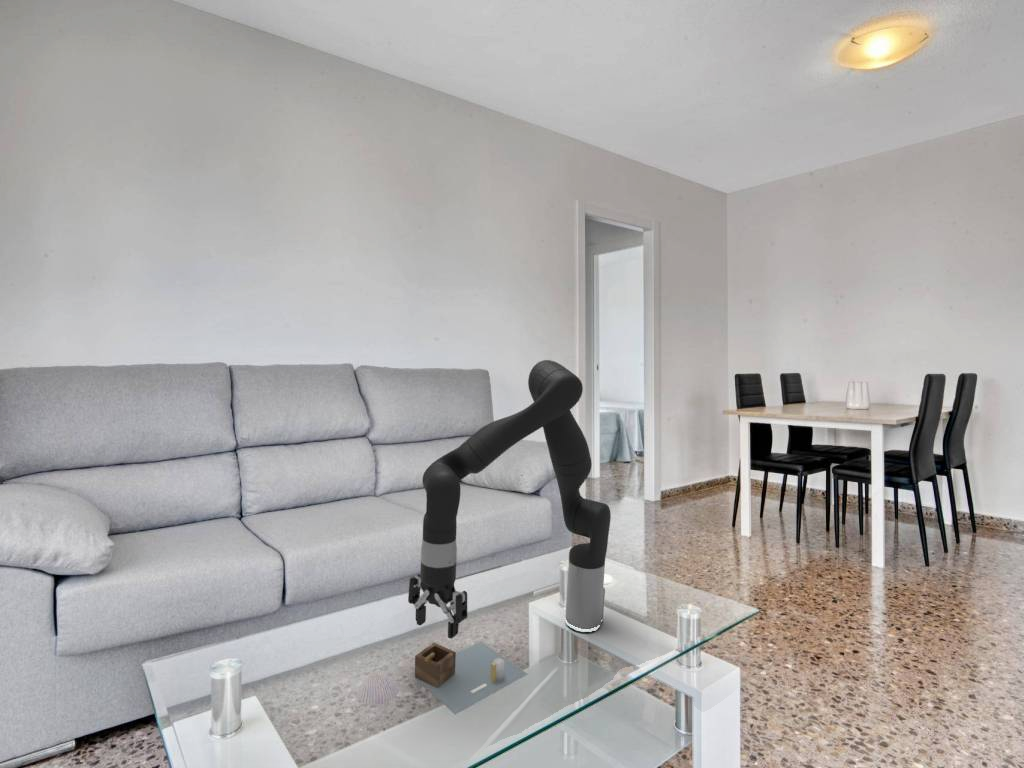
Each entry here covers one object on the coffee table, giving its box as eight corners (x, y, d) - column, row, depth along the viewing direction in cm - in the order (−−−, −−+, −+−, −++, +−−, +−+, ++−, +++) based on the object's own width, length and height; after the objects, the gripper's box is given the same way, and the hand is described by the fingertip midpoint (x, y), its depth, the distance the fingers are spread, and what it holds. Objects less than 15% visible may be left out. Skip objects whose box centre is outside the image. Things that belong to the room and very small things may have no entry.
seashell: (394, 662, 130) (408, 679, 121) (395, 688, 130) (409, 707, 121) (347, 673, 125) (358, 691, 116) (347, 700, 125) (358, 720, 116)
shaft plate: (481, 646, 142) (481, 625, 141) (527, 678, 131) (528, 657, 130) (410, 679, 129) (410, 657, 128) (455, 719, 117) (455, 695, 116)
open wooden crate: (433, 663, 133) (433, 639, 132) (455, 673, 130) (455, 649, 129) (414, 677, 128) (415, 653, 127) (437, 688, 124) (437, 663, 124)
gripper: (401, 555, 125) (399, 627, 127) (454, 574, 118) (452, 649, 120) (424, 544, 131) (422, 612, 134) (476, 561, 124) (473, 633, 126)
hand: (436, 630), depth 127 cm, fingers open, 8 cm apart
